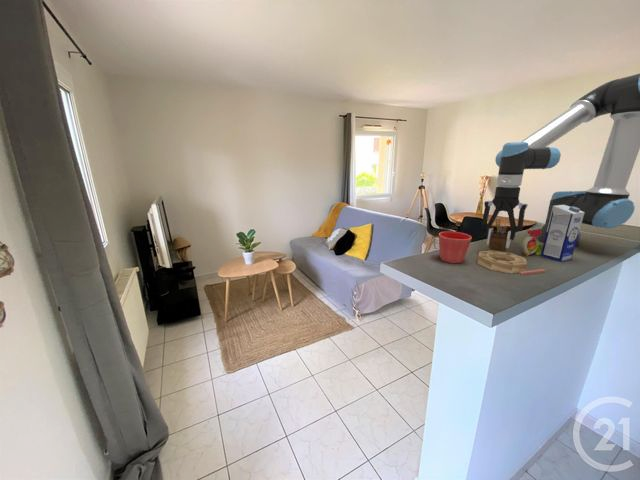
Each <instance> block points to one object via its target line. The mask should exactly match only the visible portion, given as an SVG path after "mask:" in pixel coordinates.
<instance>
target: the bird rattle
mask: <svg viewBox="0 0 640 480" xmlns="http://www.w3.org/2000/svg"><path fill="white" fill-rule="evenodd" d="M541 229H542V228H535V229H534V228H533V229H531V230H530V229H528V230H527V231H526V232H527V234H529V235H528V236H527V237H525V238H524V239H523V241H522V243H521V249H522V251H523V253H524V255H525V257H526V256H530V255H533V254H535V255H537V256H541V252H542V248H543V244H544V243H539V240H538V239H537V236H540V235H542V232H541Z"/></svg>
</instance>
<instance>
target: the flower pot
mask: <svg viewBox="0 0 640 480" xmlns="http://www.w3.org/2000/svg"><path fill="white" fill-rule="evenodd" d="M472 237H473V236H472V235H470V234H468V233H464V232H459V231H449V230H448V231H441V232H439V233H438V247H439V256H440V260H441V261H444V262H447V263H451V264H459V263H463V262H464V258H465V256H466V254H467V252H468V249H469V248H470V244H471V242H472V240H473V238H472Z"/></svg>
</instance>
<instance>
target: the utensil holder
mask: <svg viewBox="0 0 640 480" xmlns="http://www.w3.org/2000/svg"><path fill="white" fill-rule="evenodd" d="M495 227H496V231H493V232H492V236H491V237H490V241H489V245H488V249H489V250H488V251H491V250H493V251H500V252H506V250H507V248H505V247H506V242H507V236H508V232H506V230H507V228H504V231H502V229H501V228H503V227H507V225H506V224H504V223H502V224H501V218H496V219H495Z"/></svg>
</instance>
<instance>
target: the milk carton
mask: <svg viewBox="0 0 640 480" xmlns="http://www.w3.org/2000/svg"><path fill="white" fill-rule="evenodd" d="M584 213H585V212H583V211H580V209H579V208H577V207H573V206H571V207H570V206H566V205H556V206H553V208H552V212H551V216H550V220H549V224H548V228H547V232H546V236H545V240H544V242H543V243H542V244H543V248H542V252H541V254H540V257H542V258H545V259H549V260H553V261H556V262H559V263H560V262H565V261H569V260H572V258H573V255H574V252H575V247H576V246H575V245H576V241H577V237H578V234H579V230H580V231H581V227H582V224H583V223H582V220H583V216H584Z"/></svg>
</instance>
